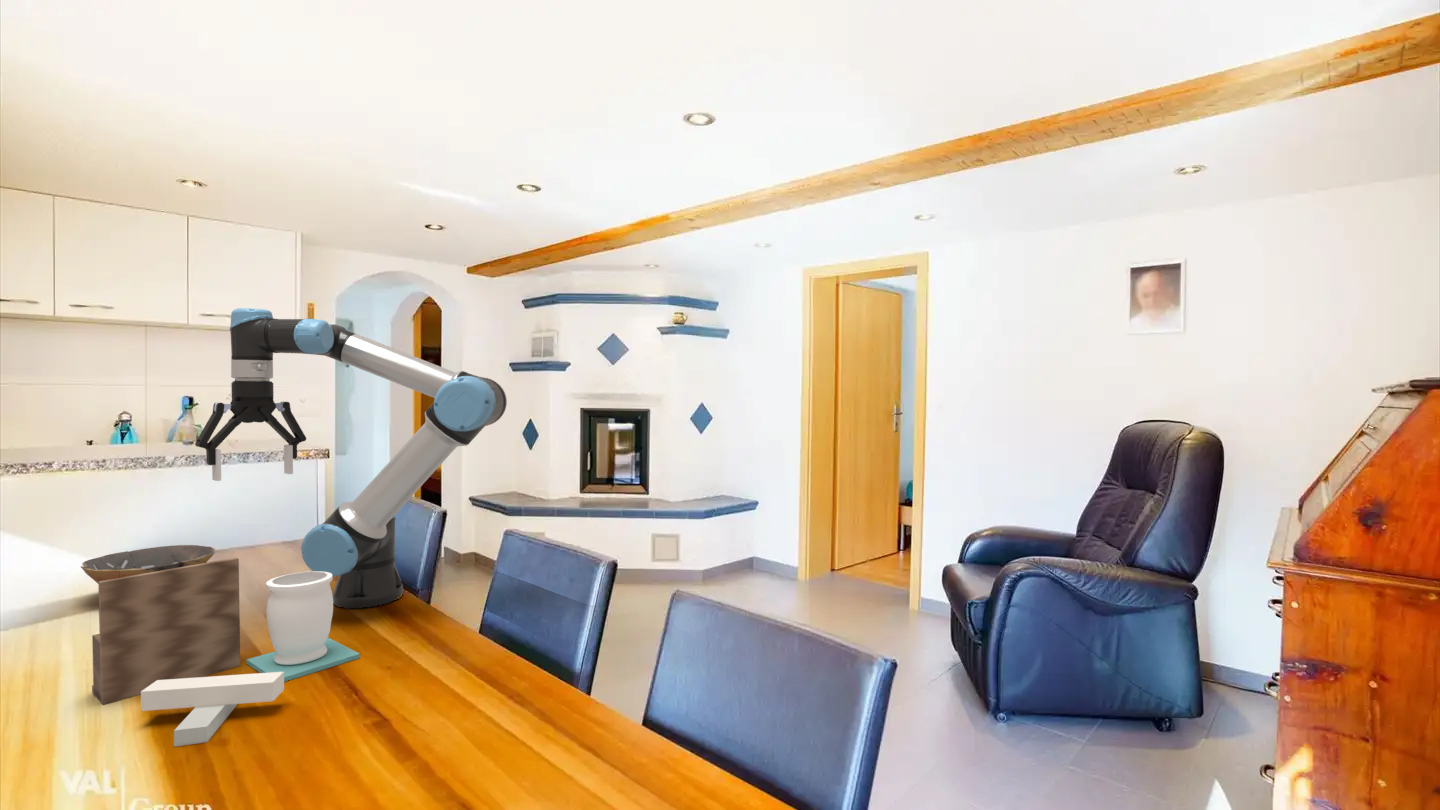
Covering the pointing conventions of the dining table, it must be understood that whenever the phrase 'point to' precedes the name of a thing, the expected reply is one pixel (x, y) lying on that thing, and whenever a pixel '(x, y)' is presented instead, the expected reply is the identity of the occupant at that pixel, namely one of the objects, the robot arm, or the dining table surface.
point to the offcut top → (212, 691)
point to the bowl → (145, 561)
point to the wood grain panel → (166, 627)
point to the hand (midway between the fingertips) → (254, 477)
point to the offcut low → (201, 724)
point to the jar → (299, 616)
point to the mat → (331, 658)
